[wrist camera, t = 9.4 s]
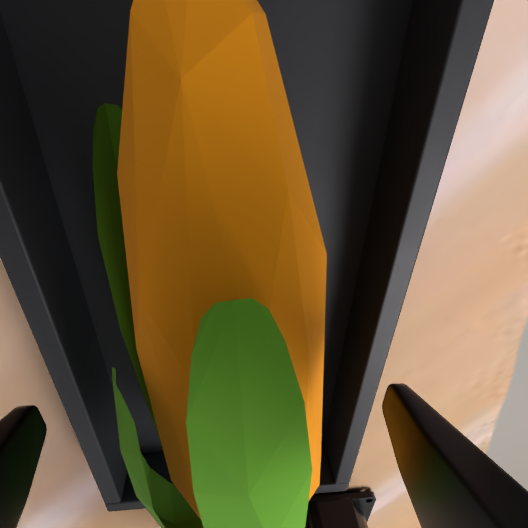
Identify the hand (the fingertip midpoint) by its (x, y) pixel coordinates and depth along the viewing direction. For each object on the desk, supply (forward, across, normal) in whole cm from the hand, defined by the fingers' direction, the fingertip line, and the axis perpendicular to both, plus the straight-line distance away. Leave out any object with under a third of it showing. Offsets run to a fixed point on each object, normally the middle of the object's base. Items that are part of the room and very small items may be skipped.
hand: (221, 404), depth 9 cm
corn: (+6, 0, 0) cm, 6 cm away
